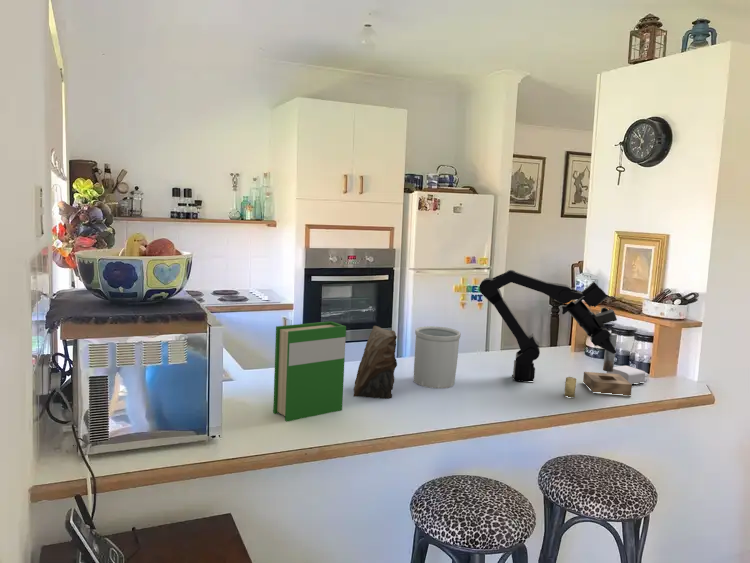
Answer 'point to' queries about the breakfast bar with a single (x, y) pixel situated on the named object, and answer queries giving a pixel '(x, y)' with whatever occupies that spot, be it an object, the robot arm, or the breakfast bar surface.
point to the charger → (630, 374)
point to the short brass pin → (570, 387)
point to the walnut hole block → (607, 383)
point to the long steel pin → (610, 355)
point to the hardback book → (309, 369)
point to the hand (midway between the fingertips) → (614, 351)
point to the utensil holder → (436, 356)
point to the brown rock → (377, 365)
